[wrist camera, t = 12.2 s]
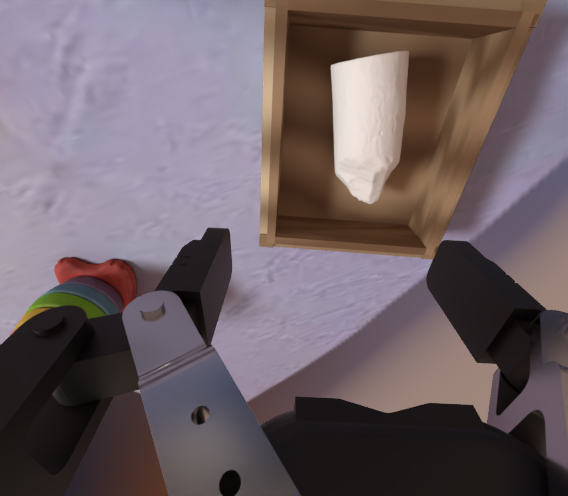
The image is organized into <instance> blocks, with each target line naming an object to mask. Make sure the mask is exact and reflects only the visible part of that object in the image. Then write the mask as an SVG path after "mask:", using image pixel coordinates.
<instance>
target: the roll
mask: <svg viewBox="0 0 568 496" xmlns="http://www.w3.org/2000/svg"><path fill="white" fill-rule="evenodd" d="M408 64H409V51H408V50H407V51H397V52H391V53H384V54H378V55H373V56H367V57H363V58H357V59H354V60H349V61H344V62H339V63H336V64H332V65H331V81H332V98H333V132H334V164H335V174H336V176H337V177H338V178H339V179H340V180H341V181H342V182H343V183H344V184H345V185H346V186H347V188H348V189H349V191H350V193H351V194H352V195H353V196H354V197H357V198H358V200H359V201H361V200H362V201H363V202H365V203H368V204H372V203H375V202H376V201H377V200H378V199H379V197H380V196H381V195H382V193H383V188H384V185H385V182H386V180H387V179H388V177H389V175H390V174H391V172H392V171H393V170H394V169H395V168H396V166H397V165H398V163H399V160H400V154H401V146H402V136H403V128H404V122H405V113H406V89H407V76H408Z"/></svg>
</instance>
